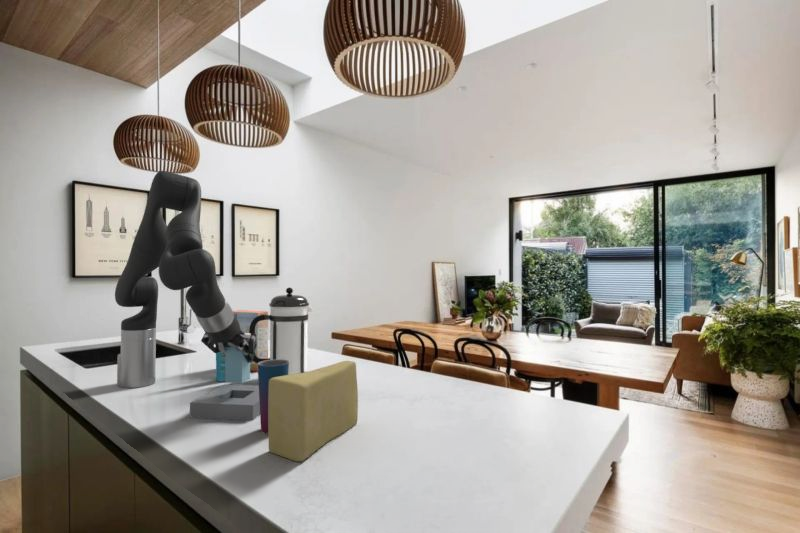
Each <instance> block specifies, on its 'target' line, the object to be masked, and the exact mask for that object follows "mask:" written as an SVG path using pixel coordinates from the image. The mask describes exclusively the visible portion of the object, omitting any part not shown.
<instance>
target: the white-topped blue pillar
mask: <svg viewBox="0 0 800 533" xmlns="http://www.w3.org/2000/svg"><path fill="white" fill-rule="evenodd" d="M245 334H246V335H251V333H245ZM244 349H245V346H244ZM250 379H251V371H250V363H248V362H247V360H246V358H245V357H244V354H242V353H241V352H240V351H239V352H238V351H237V350H235V349H234V348H233V347H226V352H225V382H224V384H225V383H226V384H227V383H229V384H243V383H245V382H247V381H249V380H250Z"/></svg>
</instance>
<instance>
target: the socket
mask: <svg viewBox="0 0 800 533" xmlns="http://www.w3.org/2000/svg"><path fill="white" fill-rule="evenodd" d="M258 416H260V401H259V385H250V384H249V385H247V384H246V385H245V384H243V385H241V384H222V385H220V386H219V387H216V388H215V389H213V390H211V391H210V392H207V393H205V394H204V395H201V396H200V397H198V398H196V399H194V400H192V401H191V402H189V418H201V419H202V418H203V419H223V420H225V419H226V420H230V419H231V420H244V421H245V420H246V421H247V420H248V421H249V420H250V421H254V420H255V419H256V418H257V417H258ZM253 419H254V420H253Z"/></svg>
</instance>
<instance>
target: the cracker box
mask: <svg viewBox="0 0 800 533" xmlns="http://www.w3.org/2000/svg"><path fill="white" fill-rule="evenodd" d="M232 311H233V312H234V314H235V316H236V318H237V320H238V322H239V324H240V329H241V330H242V331H243V332H244V333H249V329H250V324H251V322H252V320H253V319H254V318H255V317H257V316H260V315H269V311H265V310H263V311H262V310H248V309H247V310H246V309H245V310H244V309H236V310H232ZM255 334H256V339H257V346H256V349H255V354H256V356H257V357H258V358H261V359H268V358H269V320H261V321H259V322H258V323H257V324H256V326H255ZM250 372H255V373H256V372H257V373H258V363H255V362H254V361H253V360H252V361H251V363H250Z"/></svg>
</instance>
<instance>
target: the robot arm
mask: <svg viewBox="0 0 800 533" xmlns="http://www.w3.org/2000/svg"><path fill="white" fill-rule="evenodd" d="M151 181H152V182H151V185H150V187H149V192H148V197H147V200H146V204H145V209H144V211H143V212H144V213H143V216H142V219H141V221H140V224H139V227H138V229H137V232H136V235H135V237H134V239H133V242H132V245H131V249H130V252H129V255H128V258H127V262H126V265H125V267H124V268H123V271H122V273H121V274H120V276H119V279H118V281H117V283H116V286H115V291H114V299H115V302H116V304H117V305H118V306H120V307H123V308H138V307H142V309H141V310H140V311H139V312H138V313H136V314H134V315H133V316H130V317H127V318H124V319H123V320H122V321H121V322H120V353H118V354H117V356H116V357H117V358H116V359H117V365H116V366H117V367H116V368H117V369H116V371H117V372H116V373H117V374H116V377H117V379H116V386H118V387H121V388H124V389H125V388H126V389H131V388H141V387H142V388H143V387H146V386H150V385H153V384H155V383H156V361H157V360H156V359H157V358H156V356H157V355H156V354H157V353H156V351H157V347H156V346H157V342H156V341H157V338H156V337H157V319H158V318H157V317H158V300H159V284H158V280H157V279H156V278H155V277H151V276H147V275H148V274H150V273H152V272H153V271H155V270H157V269H158V276H159V279H160V282H161V283H162V284H163V285H164V286H165V288H167V289H169V290H172V291H180V290H184V289H187V288H188V290H187V291H186V292H185V300H186V302H187V304H188V306H189V307H190V309H191V311H192V312H193V314H194V315H195V317H196V320H197V322H198V324H199V325H200V327H201V328H202V330H203V331H204V334H203V336H202V339H201V340H200V342H201V343H203V344H204V345H205V346H206V347H207V348H208V349H209V350H210V351H212V353H213V354H216V353H218V352H221V354H222V355H224V356H225V352H226V347H233V348H234V349H235V350H237V351H238V352H239V351H240V352H241V353H242V354H244V357H245V358H246V360H247V362H248V363H251V361H252V360H253V358H254V352H255V349H256V346H257V339H256V334H255V333H252V334H251V335H246V334H245V333H244V332H243V331H242V330H241V329H240V324H239V322H238V320H237V318H236V316H235V314H234V312H233V311H234V310H233V309H232V307H231V305H230V304H229V303H228V301H227V300H226V298H225V296H224V295H223V293H222V290H221V289H220V286H219V284H218V280H217V271H216V269H217V268H216V263H215V259H214V257H213V256H212V254H211V253H210V252H209V251H208V250H205V249H204V248H203V246H204V245H203V240H202V235H201V227H200V226H201V224H200V221H201V210H202V187H201V185H200V182H199V181H198V180H197V179H194V178H193V177H190V176H185V175H182V174H180V173H179V174H178V173H176V172H175V173H174V172H171V171H167V170H159V171H157V173H156V174H155V175H154V177H153V179H152V180H151ZM163 208H165V209H168V210H173V211H176V212H177V211H178V212H180V213H178V214H177V215H175V216H174V217H172V218H171V219H170V221H169V222H168V224H167V223H166V222H165V219H164V218H163V214H162V211H161V209H163ZM215 345H216V346H215ZM244 346H245V349H244Z"/></svg>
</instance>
